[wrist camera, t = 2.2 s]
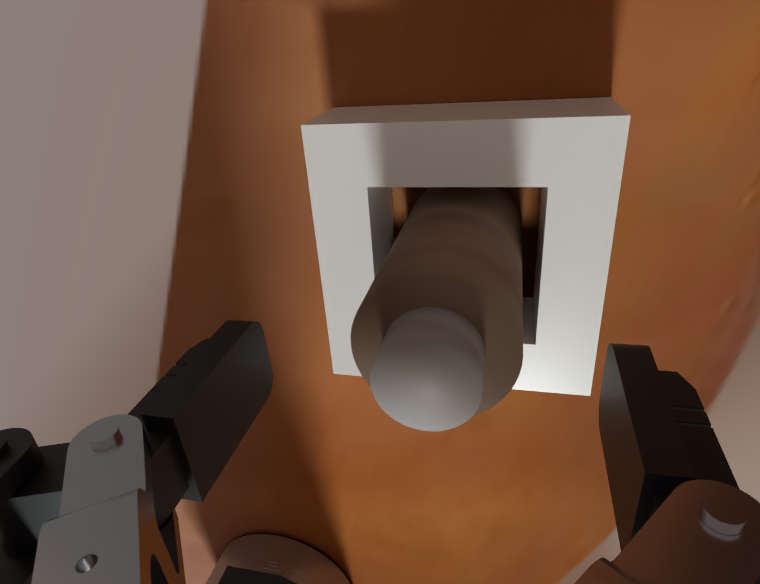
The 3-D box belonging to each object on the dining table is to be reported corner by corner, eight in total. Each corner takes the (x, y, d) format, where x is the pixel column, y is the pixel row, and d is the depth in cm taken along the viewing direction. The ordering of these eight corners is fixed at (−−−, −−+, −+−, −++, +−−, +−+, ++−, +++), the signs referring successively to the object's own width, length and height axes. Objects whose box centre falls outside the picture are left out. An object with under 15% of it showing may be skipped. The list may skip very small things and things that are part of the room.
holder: (580, 342, 22) (590, 395, 19) (356, 328, 24) (333, 373, 21) (611, 96, 17) (630, 115, 14) (334, 107, 20) (300, 124, 17)
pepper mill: (484, 298, 22) (461, 486, 13) (390, 248, 22) (307, 404, 13) (544, 210, 20) (565, 367, 11) (440, 154, 20) (379, 268, 11)
